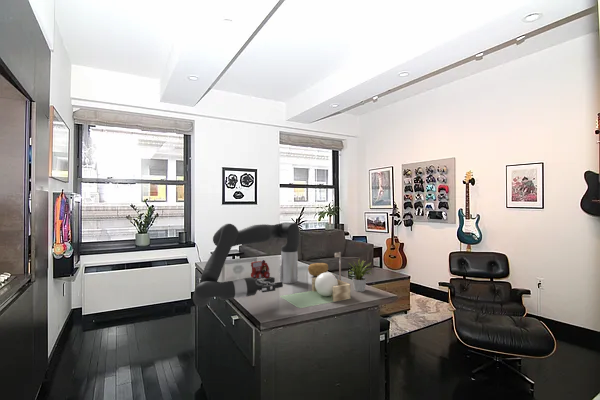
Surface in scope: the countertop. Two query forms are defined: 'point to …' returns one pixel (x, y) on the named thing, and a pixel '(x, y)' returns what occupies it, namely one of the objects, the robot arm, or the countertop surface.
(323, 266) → the potato
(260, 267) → the toy fire truck
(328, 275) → the ball
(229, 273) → the countertop surface
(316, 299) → the green mat
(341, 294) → the wooden u-shaped frame
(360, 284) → the house plant
